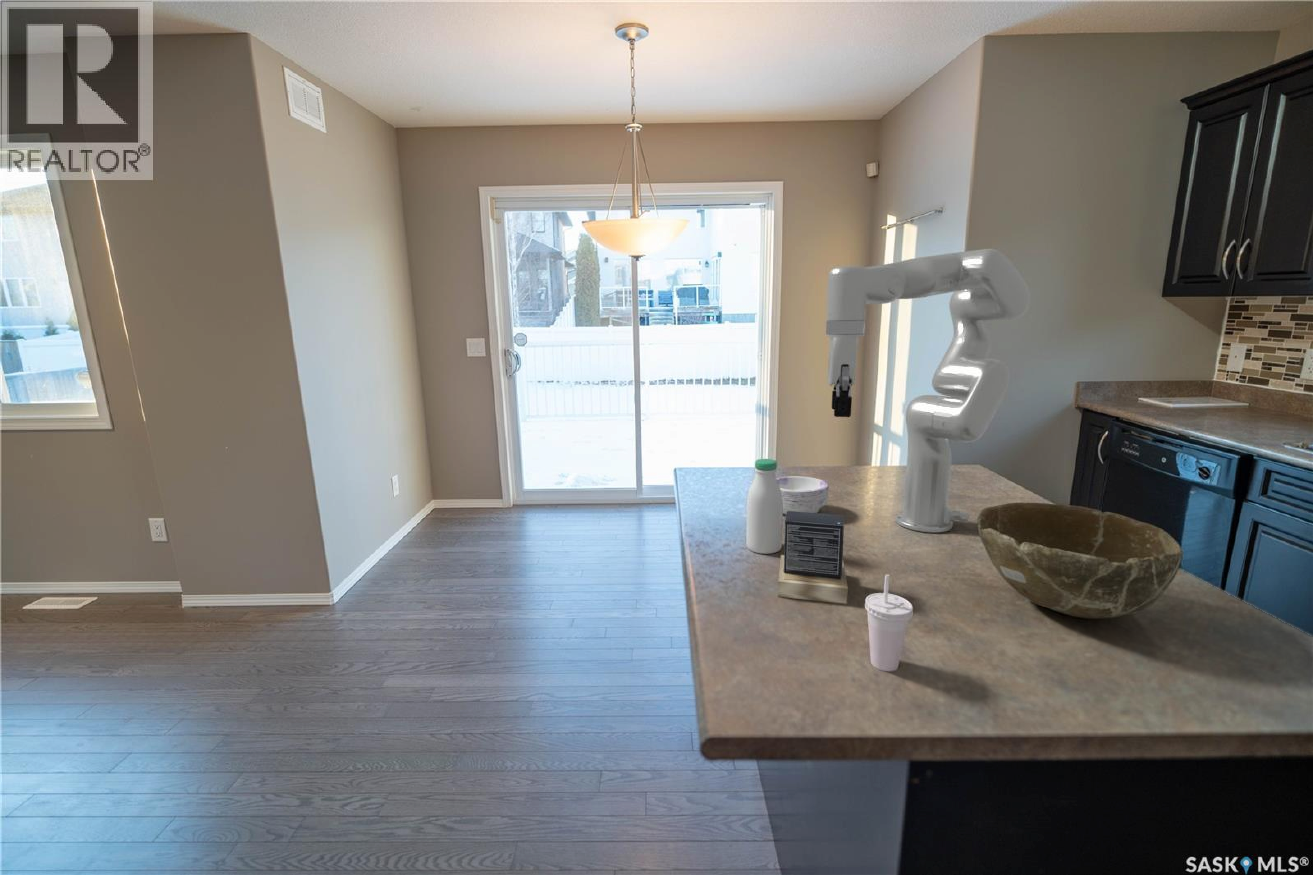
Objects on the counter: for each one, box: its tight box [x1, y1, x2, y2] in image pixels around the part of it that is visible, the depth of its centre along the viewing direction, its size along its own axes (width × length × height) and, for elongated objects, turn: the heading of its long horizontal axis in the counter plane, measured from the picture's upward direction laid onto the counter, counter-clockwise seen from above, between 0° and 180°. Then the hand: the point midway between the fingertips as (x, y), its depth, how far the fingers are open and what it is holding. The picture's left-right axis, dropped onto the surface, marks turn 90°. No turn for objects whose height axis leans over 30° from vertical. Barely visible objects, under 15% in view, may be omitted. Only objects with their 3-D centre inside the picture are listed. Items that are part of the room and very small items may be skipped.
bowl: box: [976, 502, 1184, 620], centre depth 94 cm, size 28×27×15 cm
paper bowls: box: [776, 475, 829, 516], centre depth 145 cm, size 15×15×8 cm
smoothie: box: [864, 573, 914, 672], centre depth 80 cm, size 6×6×14 cm
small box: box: [783, 511, 845, 579], centre depth 104 cm, size 11×6×10 cm, turn 72°
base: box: [777, 554, 849, 605], centre depth 105 cm, size 12×12×3 cm
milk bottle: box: [745, 458, 784, 555], centre depth 121 cm, size 8×8×20 cm
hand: (840, 412), depth 116 cm, fingers open, 9 cm apart
